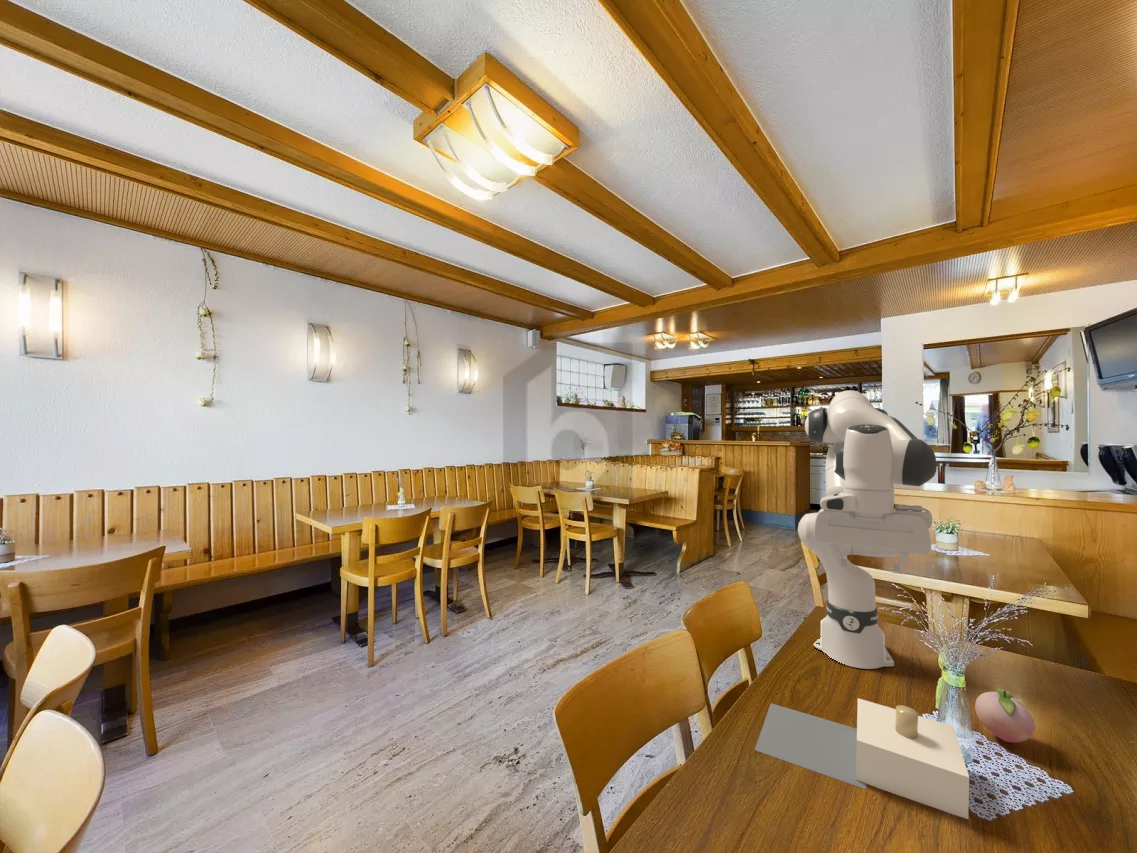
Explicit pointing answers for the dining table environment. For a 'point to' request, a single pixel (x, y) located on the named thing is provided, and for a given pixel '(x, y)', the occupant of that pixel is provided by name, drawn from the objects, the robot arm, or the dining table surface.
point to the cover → (911, 757)
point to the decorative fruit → (1004, 716)
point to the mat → (810, 743)
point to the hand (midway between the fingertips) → (869, 569)
